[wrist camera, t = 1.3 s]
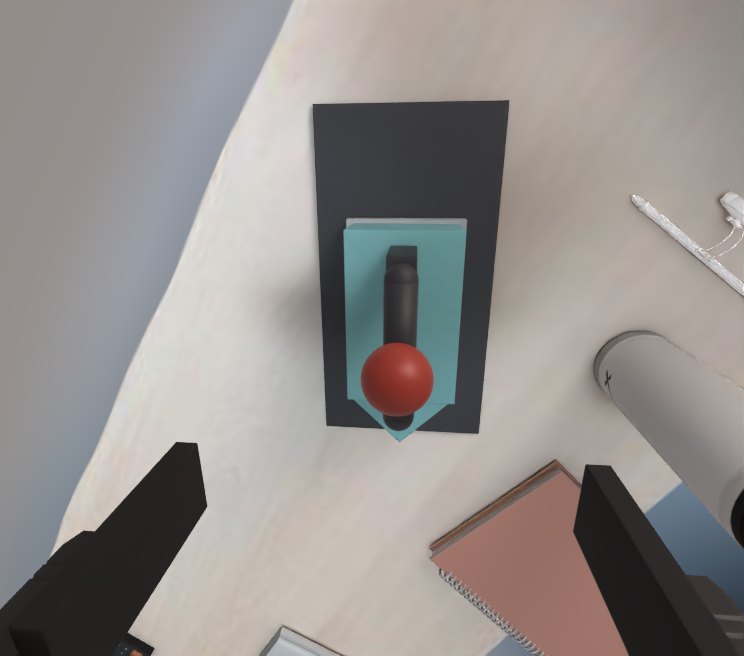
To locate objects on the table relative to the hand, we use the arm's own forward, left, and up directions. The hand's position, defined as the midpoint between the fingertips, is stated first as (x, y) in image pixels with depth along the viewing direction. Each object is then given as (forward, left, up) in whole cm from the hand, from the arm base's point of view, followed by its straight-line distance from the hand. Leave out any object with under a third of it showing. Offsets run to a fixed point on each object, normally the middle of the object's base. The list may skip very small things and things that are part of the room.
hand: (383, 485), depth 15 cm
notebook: (-18, +30, -23) cm, 42 cm away
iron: (0, +1, -22) cm, 22 cm away
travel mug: (-19, +5, -23) cm, 30 cm away
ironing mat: (0, -2, -23) cm, 23 cm away
